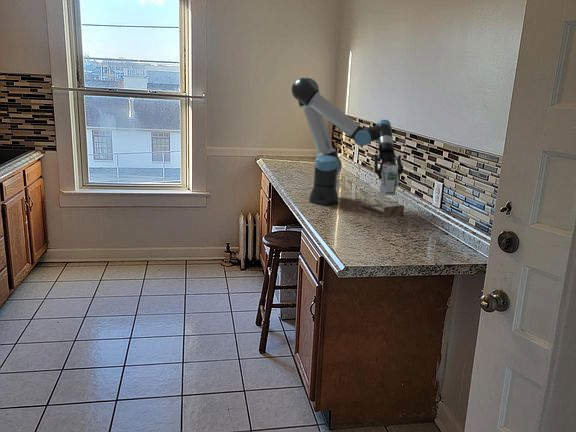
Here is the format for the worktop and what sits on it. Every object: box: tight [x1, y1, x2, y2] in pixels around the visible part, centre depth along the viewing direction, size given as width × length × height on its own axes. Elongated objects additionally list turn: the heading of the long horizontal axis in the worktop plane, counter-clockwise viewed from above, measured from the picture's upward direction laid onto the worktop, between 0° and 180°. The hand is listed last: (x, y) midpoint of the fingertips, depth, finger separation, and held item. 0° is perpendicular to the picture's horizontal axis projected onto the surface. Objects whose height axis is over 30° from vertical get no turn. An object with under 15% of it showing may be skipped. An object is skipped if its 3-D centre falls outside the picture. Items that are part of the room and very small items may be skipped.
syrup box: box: [379, 164, 399, 196], centre depth 252 cm, size 6×6×14 cm
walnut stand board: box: [363, 203, 405, 217], centre depth 255 cm, size 12×16×4 cm
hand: (390, 184), depth 249 cm, fingers closed on syrup box, 7 cm apart
